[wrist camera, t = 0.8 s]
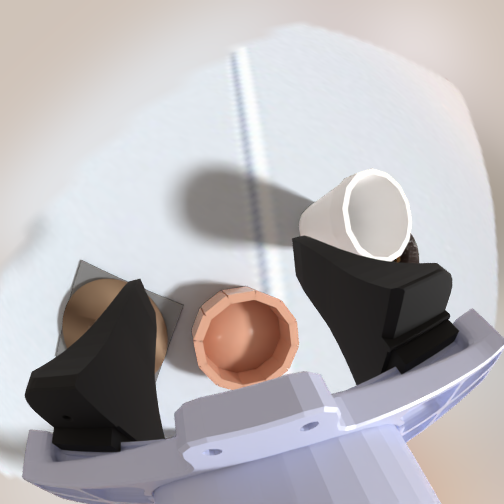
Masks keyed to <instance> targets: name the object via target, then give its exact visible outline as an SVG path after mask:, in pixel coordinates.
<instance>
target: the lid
mask: <svg viewBox="0 0 504 504" xmlns="http://www.w3.org/2000/svg"><path fill="white" fill-rule="evenodd" d="M127 283H128V282H126V281H123V280H118V279H110V278H109V279H99V280H95V281H92V282H89V283H87V284H85V285H84V286H82V287H81V288H79V289H78V290H77V291H76V292H75V293H74V294H73V295H72V297H71V298H70V300H69V301H68V303H67V305H66V308H65V311H64V315H63V325H62V327H63V336H64V341H65V344H66V347H67V348H69V347H70V346H71V345H72V344H73V343H74V342H76V341H77V340H78V339H79V338H80V337H81V336H82V335H83V334H84V333H85V332H86V331H87V330H88V329H89V328H90V327H91V326H92V325H93V324H94V323H95V322H96V321H97V319H98V318H99V317H100V316H101V315H102V313H103V312H104V311H105V310H106V309H107V307H108V306H109V305H110V303H111V302H112V301H113V300H114V298H115V297H116V296H117V295H118V293H119V292H120V291H121V289H122V288H123V287H124V286H125V285H126V284H127ZM148 297H149V296H148ZM149 299H150V301H151V304H152V306H153V308H154V310H155V312H156V323H157V338H156V355H155V373H156V372H157V371H158V370H159V368H160V367H161V365H162V363H163V361H164V358H165V355H166V351H167V343H168V335H167V328H166V324H165V321H164V318H163V316H162V314H161V312H160V310H159V308H158V307H157V305H156V304H155V302H154V301H153V300H152V299H151V298H150V297H149Z"/></svg>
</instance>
